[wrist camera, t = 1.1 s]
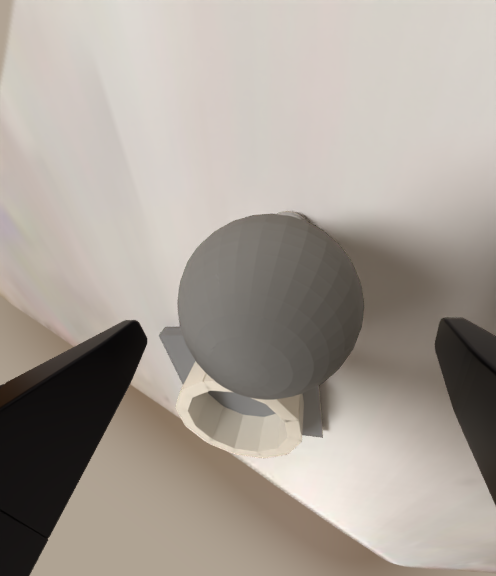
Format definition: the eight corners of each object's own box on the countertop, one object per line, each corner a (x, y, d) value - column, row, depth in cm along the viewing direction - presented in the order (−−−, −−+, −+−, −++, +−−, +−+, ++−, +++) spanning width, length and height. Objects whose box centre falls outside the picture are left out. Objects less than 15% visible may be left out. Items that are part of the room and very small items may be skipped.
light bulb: (336, 281, 15) (355, 461, 7) (240, 274, 17) (165, 420, 9) (353, 173, 12) (421, 280, 4) (232, 175, 14) (101, 259, 5)
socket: (314, 327, 18) (312, 373, 14) (322, 426, 24) (323, 475, 20) (165, 327, 21) (137, 364, 18) (205, 413, 27) (189, 453, 24)
